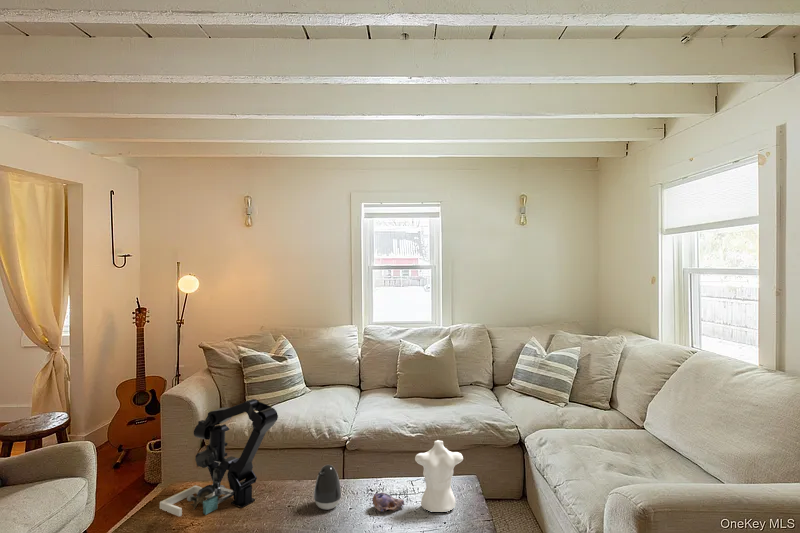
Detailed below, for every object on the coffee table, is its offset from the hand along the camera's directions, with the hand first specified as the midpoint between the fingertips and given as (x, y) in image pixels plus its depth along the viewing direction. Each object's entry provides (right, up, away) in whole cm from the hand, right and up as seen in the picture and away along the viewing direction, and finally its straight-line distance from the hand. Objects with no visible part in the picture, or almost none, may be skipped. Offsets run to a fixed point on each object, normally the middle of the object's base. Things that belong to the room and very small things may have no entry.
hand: (216, 481), depth 173 cm
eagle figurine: (-2, -5, -8) cm, 10 cm away
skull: (+68, -5, -11) cm, 69 cm away
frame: (-7, -5, -8) cm, 12 cm away
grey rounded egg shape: (+45, -5, -9) cm, 46 cm away
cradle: (+1, -5, -1) cm, 5 cm away
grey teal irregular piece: (0, -4, -7) cm, 8 cm away
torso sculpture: (+87, -5, -9) cm, 87 cm away
